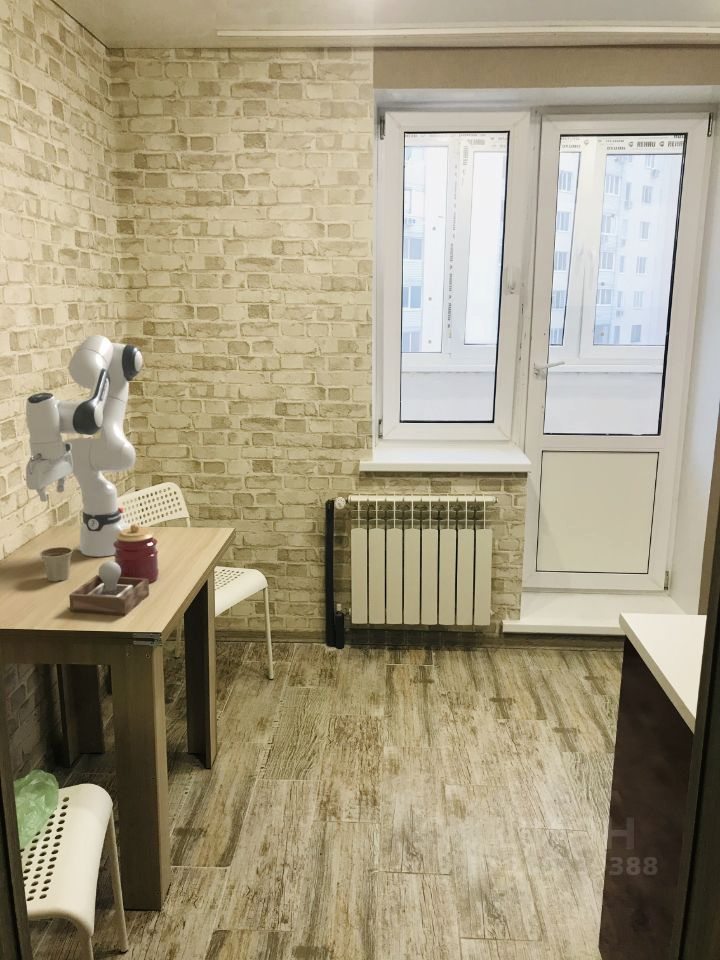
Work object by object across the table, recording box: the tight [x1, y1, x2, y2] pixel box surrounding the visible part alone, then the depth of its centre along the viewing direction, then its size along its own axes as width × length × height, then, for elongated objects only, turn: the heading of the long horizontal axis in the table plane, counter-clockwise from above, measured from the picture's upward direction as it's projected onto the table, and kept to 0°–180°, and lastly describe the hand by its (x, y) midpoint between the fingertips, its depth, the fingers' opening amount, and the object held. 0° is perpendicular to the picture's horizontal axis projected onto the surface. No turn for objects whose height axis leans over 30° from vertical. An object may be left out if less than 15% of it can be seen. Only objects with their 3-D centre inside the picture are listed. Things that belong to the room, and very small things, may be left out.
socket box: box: [68, 574, 150, 617], centre depth 222 cm, size 16×16×5 cm
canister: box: [113, 523, 160, 584], centre depth 240 cm, size 13×13×18 cm
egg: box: [98, 560, 121, 596], centre depth 222 cm, size 6×6×11 cm
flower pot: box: [39, 546, 74, 582], centre depth 241 cm, size 9×9×9 cm
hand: (53, 496), depth 229 cm, fingers open, 8 cm apart
